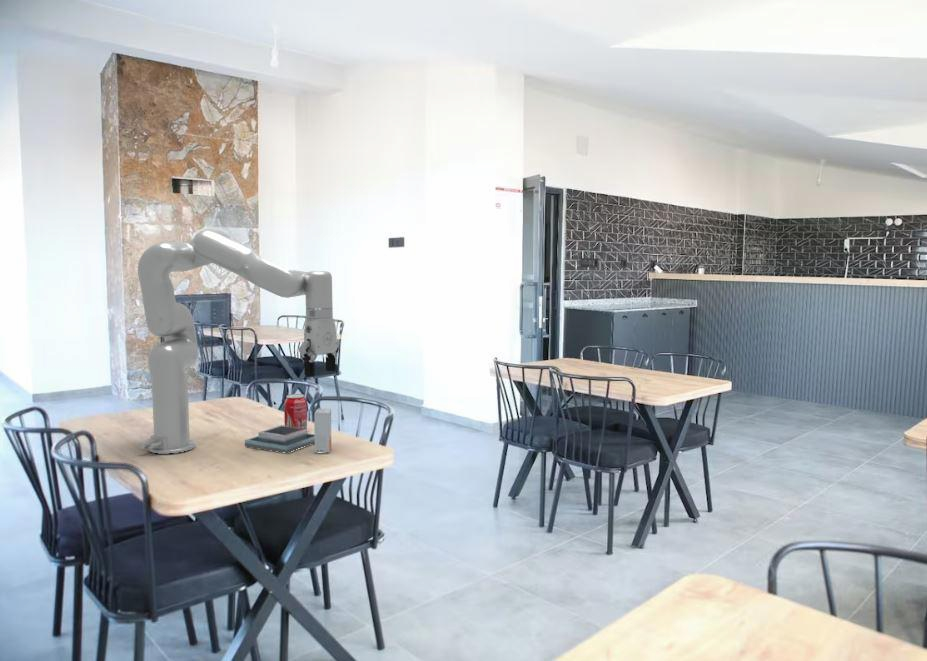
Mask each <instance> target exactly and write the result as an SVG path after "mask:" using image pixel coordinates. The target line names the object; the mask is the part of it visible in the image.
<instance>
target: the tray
mask: <svg viewBox="0 0 927 661" xmlns="http://www.w3.org/2000/svg"><path fill="white" fill-rule="evenodd" d="M257 434H258V435H256V436H253V437H250V438H247V439H245V440H244V447H245V446H247V447H246V448H249V447H253V448H252V449H255V448H260V449H259V450H261V449H266V450H265V451H267V450H272V451H271V452H273V451H278V452H285V453H288V452H291V451H293V450H296V449H298V448H301V447H304V446H307V445H310V444H313V443H315V433H314V434H313V433H308V428H307V429H304V428H298V427H291V426H285V424H280V425H277V426H274V427H271V428H268V429H264V430H261V431H258V432H257ZM313 445H314V444H313ZM310 446H311V445H310ZM307 447H308V446H307ZM278 452H277V453H278ZM291 453H292V452H291ZM288 454H289V453H288Z"/></svg>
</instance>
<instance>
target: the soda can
mask: <svg viewBox="0 0 927 661" xmlns="http://www.w3.org/2000/svg"><path fill="white" fill-rule="evenodd" d="M307 402H308V401H307V399H306V397H305V394H302V393H294V394H293V393H292V394H287V395H286V398H285V399H284V404H283V405H284V406H283V407H284V409H283V410H284V414H283V415H284V426H291V427H298V428H304V429H307V430H308V403H307Z"/></svg>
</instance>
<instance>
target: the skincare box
mask: <svg viewBox="0 0 927 661" xmlns="http://www.w3.org/2000/svg"><path fill="white" fill-rule="evenodd" d="M313 416H314V418H313V419H314V420H313V422H314V425H313V426H314V430H313V431H314V434H315V444H314V453H315V452H329V453H330V451H331V449H332V408H316V410H315V412H314V415H313Z"/></svg>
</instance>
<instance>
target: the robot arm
mask: <svg viewBox="0 0 927 661" xmlns="http://www.w3.org/2000/svg"><path fill="white" fill-rule="evenodd" d="M137 264H138V265H137V275H138V276H137V277H138V281H139V286H140V289H141V297H142V304H143V309H144V316H145V322H146V327H147V330H148V331H149V333H151V334H152V335H153V336H156V337H159V338H163V339H164V341H163V342H160V343H158V344H156V345H155V346H153V348H152V349H151V350H150V352H149V353H148V357H147V366H148V372H149V375H150V380H151V381H150V382H151V394H152V415H153V416H152V418H153V420H152V422H153V435H150V439H148V441H146V440H145V441H142V442H139V449H140V450H145V449H148V452H149V451H150V453H151V452H152V454H155V453H158V454H157V455H170V454H169V453H174V454H180V453H179V452H181V453H184V451H185V452H188V450H189V451H191V450H193V449H195V448H196V441H195V440H191V439H190V412H189V411H190V410H189V409H190V407H189V388H188V387H189V386H188V380H187V375H186V372H185V370H186V369H189V368H191V367H193V365H194V364H196V362H197V360H198V357H199V346H198V340H197V333H196V328H195V321H194V317H193V315H192V312H191V310H190V309H189V308H188V307H187V306H186V305H185V304H183V303H181V302H177V301H176V295H175V288H174V285H173V283H172V280H171V278H170V273H172V272H173V273H174V272H175V273H176V272H180V273H181V272H187V271H192V270H194V269H198V268H200V267H204V266H206V265H211V264H214V265H216V266H219V267H220V268H223V269H225V270H228V271H229V272H232V273H234V274H235V275H238V276H239V277H241V279H242V278H243V279H244V280H245V281H248V282H250V283H251V284H253V285H255V286H256V287H257V288H258V287H259V288H261V289H262V290H265V291H267V292H269V293H272V294H273V295H276V296H278V297H281V298H286V299H287V298H288V299H289V298H295V297H299V296H305V323H304V331H303V343H302V344H301V345H300V346H299V347H298V351H299V355H300V358H301V359H302V362H303V365H304V368H303V369H304V373H303V374H304V376H306V377H315V375H316V373H315V367H316V366H315V362H314V359H315V357H316V356H323V355H325V356H326V357H325V371H327V372H336V371H337V368H336V367H337V366H336V365H337V362H336V361H337V360H336V358H337V357H338V352H339V348H340V344H341V343H340V342H341V341H339V340H338V336H337V328H336V321H335V318H334V317H333V313H334V311H333V275H332V273H330V272H329V271H325V270H323V271H321V270H320V271H319V270H318V271H317V270H316V271H314V270H313V271H312V270H311V271H303V270H294V269H293V270H291V269H290V270H287V269H285V268H283V267H280V266H278V265H276V264H274V263H272V262H270V261H268V260H267V259H264V258H263V257H262V256H260V254H259V253H258V252H257V251H256V250H255V248H252V247H249V246H247V245H245V244H243V243H241V242H239V241H237V240H236V239H235V240H234V239H232V238H231V237H230V236H229V235H228V234H227V233H226V232H224V231H220V230H215V229H203V230H200V231H199V232H197V233H196V234H195V235H194V236H193V239H192V238H191V239H189V240H185V241H182V242H177V241H176V242H175V241H162V242H161V241H160V242H158V243H155V244H152V245H150V246H149V247H148V248H147V249H145V251H144V252H143V253H142V254H141V255H140V257H139V260H138V263H137Z"/></svg>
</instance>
